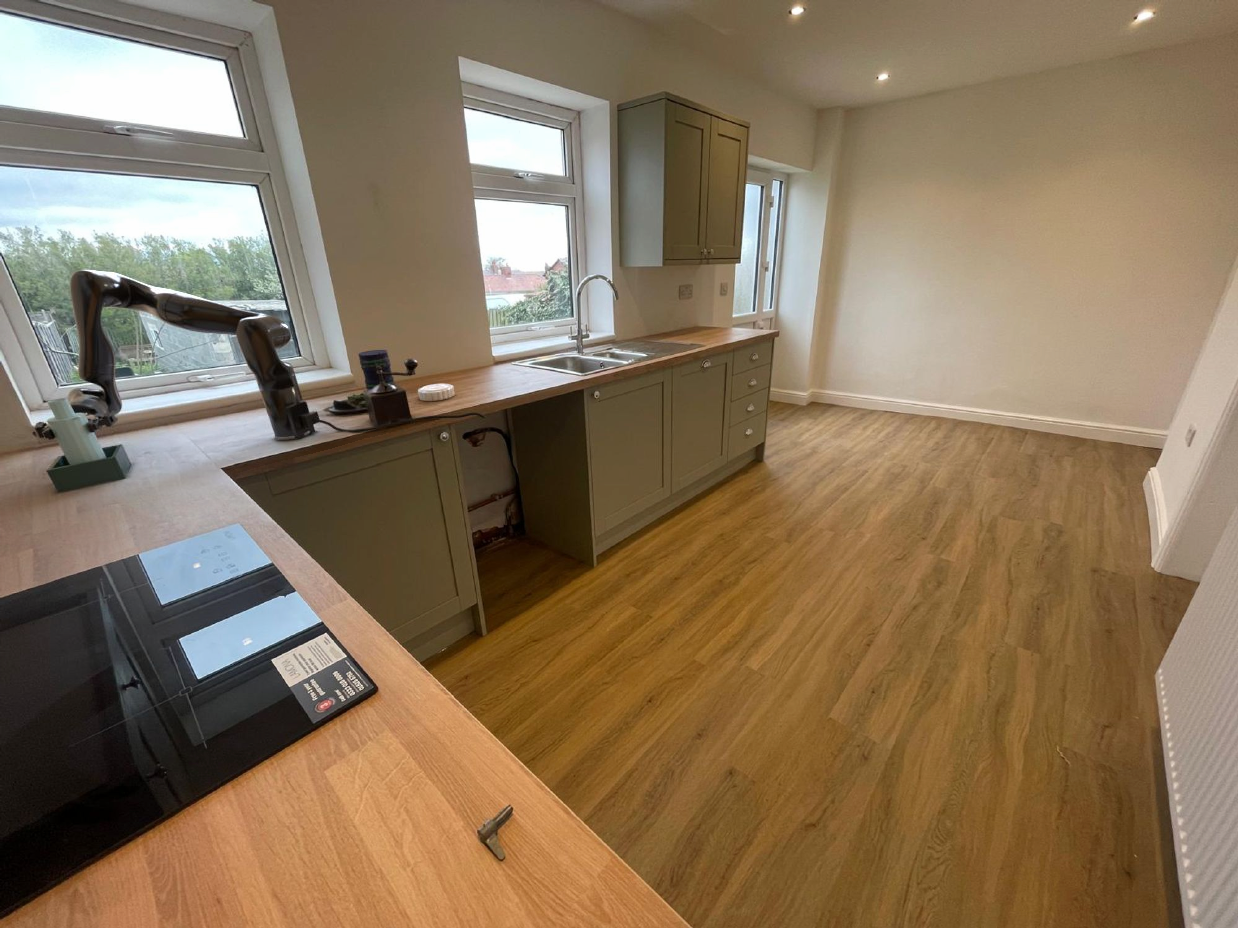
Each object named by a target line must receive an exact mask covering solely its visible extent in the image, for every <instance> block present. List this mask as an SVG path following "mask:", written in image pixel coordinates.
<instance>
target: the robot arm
mask: <svg viewBox="0 0 1238 928" xmlns="http://www.w3.org/2000/svg"><path fill="white" fill-rule="evenodd" d="M69 295H70V299H71V306H72V311H73V317H74V322H75V326H76V327H75V328H76V332H77V338H78V361H77V362H78V364H77V366H78V367H77V375H78V377H79V379H80V380H82V381H83V382H86V383H90V384H92V385H96V386H98V387H100V388H101V389H96V388H88V387H75V388H72V389H71V390H70V391H69V392H68V393H67V397H66V398H67V399H68V401H69V403H70V405H71V407H72V409H73V411H74V413H84V414H85V415H86V417H87V419H88V421H89V422H88V423H87V426H88V428H89V430H90V432H91V433H92V432H94V433H96V431H97V430H101V429H103V427H104V426H106V427H112V426H114V425H115V424H116V423H117V422H118V421H119V419H118V417H117V415H118V414H119V413H120V412H121V411H122V408H123V402H122V398H121V395H120V392H119V389H118V387H117V383H116V382H117V381H116V364H117V355H116V351H115V348H114V346H113V343H112V342H111V340H110V339H109V337H108V336H107V334H106V332H105V329H104V327H103V324H102V313H103V309H127V310H128V309H129V310H135V311H139V312H143V313H148V314H151V315H153V316H154V317H156V318H157V319H158V320H160V321H161V322H163V323H165V324H167V325H170V326H173V327H175V328H180V329H183V330H186V331H191V332H195V333H200V334H201V333H202V334H214V335H215V334H216V335H228V336H229V335H231V336H236V340H237V343H238V346H239V347H240V351H241V354H242V355H243V358H244V361H245V363H246V365H247V367H248V369H249V370H250V371H251V373H252V374H253V375H254V378H255V381H256V384H257V386H258V391H259V392H260V395H261V398H262V402H263V404H264V408H265V411H266V413H267V414H266V415H267V416H268V419H269V422H270V426H271V428H272V431H273V434H274V438H275V440H277V441H290V440H300V439H302V438H305V437H307V436H309V435H311V434H314V433H315V432H316V428H315V425H317V424H318V423H321V424H324V425H326V426H329V427H330V428H331V429H333V430H335V431H338V432H343V433H344V432H345V433H359V432H368V431H369V432H370V431H375V430H380V429H383V428H387V427H392V426H397V425H402V424H406V423H412V422H417V421H422V420H430V419H461V418H465V417H470V416H478V417H481V418H482V419H486V416H485V415H484V414H482V413H481V412H476V411H475V412H474V411H473V412H467V413H463V414H456V415H455V414H454V415H453V414H452V415H451V414H446V415H443V414H442V415H440V414H439V415H426V416H420V417H419V416H418V417H415V418H412V419H409V420H404V421H399V422H394V423H389V424H385V425H381V426H372V427H365V428H357V429H345V428H340V427H337V426H335V425H334V424H332V423H331V422H329V421H327V420H324V419H320V415H319V412H318V411H316V410H315V411H310V409H309V406H308V402H307V401H306V400H304V399H303V395H302V393H301V390H300V386H299V383H298V379H297V376H296V372H295V369H294V365H292V363H290V362H286V361H283V360H281V359H280V357H279V355H278V352H277V350H279V349H281V348H284V347H285V346H287V345H288V344H289V342H290V341H291V338H292V333H291V330H290V328H289V326H288V324H286V323H285V322H284V321H283V320H282V319H280V318H279V317H277V316H275V315H271V314H267V313H260V312H254V311H249V310H244V309H240V308H235V307H232V306H228V305H227V304H226V305H225V304H223V303H219V302H216V301H212V300H209V299H205V298H202V297H199V296H196V295H193V294H189V293H185V292H181V291H178V290H177V291H176V290H173V289H169V288H163V287H156V286H153V285H149V284H146V283H144V282H141V281H138V280H136V279H134V278H131V277H128V276H125V275H123V274H120V273H117V272H113V271H105V270H92V269H80V270H76V271H74V272H73V273H72V275H71V276H70V279H69ZM33 429H34V431H35V433H36V434H37V436H38V438H39V439H47V440H49V441H50V440H54V439H56V438H55V436H54V434H53V432H52V430H51V428H50V426H49V424H48V423H47V422H44V421H37V422H36V423H35V424H34V427H33Z"/></svg>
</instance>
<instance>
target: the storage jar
mask: <svg viewBox="0 0 1238 928" xmlns="http://www.w3.org/2000/svg"><path fill="white" fill-rule="evenodd" d="M357 356H358V357H359V358H358V359H359V365H360V368H361V370H362V372H363V376H364V384H365V389H366V390H369V389H373V388H374V387H375V386H377V385H379V384H380V378H379V374H378V373H377V371H378V370H377V366H380V367H381V371H382V372H387V373H388V372H392V368H391V360H390V356H389V354H388V350H387V349H375V350H373V349H372V350H367V351H362V352H359V353H358V355H357ZM382 377H383V381H384V383H388V384H392V385H396V382H395V379H394V375H384V374H382Z"/></svg>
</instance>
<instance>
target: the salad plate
mask: <svg viewBox="0 0 1238 928" xmlns="http://www.w3.org/2000/svg"><path fill="white" fill-rule="evenodd" d="M322 411H323V412H328V413H331V414H332V415H334V416H339V417H341V416H342V417H344V416H345V417H346V416H353V415H354V416H355V415H363V414H368V411H367V407H366V402H365V398H364V394H363V392H361V393H360V392H357V393H356V394H354V393H352V395H349V396H347V397H346V399H342V400H336V399H335V400H333V402H332V405H331V406H328V407H326V408H324V409H322Z"/></svg>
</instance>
